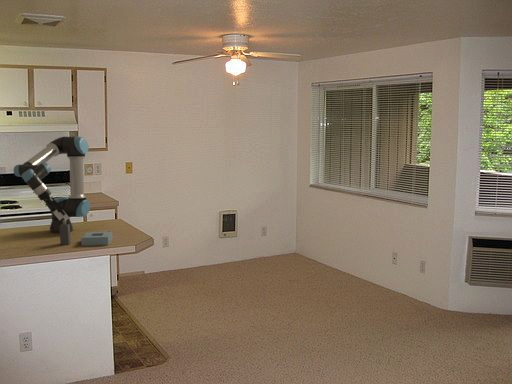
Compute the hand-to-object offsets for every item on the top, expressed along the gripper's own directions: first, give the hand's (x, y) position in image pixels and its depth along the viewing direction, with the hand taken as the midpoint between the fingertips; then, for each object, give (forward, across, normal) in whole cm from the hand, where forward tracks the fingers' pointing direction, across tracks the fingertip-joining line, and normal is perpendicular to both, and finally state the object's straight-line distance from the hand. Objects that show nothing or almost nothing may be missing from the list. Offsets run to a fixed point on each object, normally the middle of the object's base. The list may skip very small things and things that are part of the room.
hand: (64, 219), depth 358 cm
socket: (+23, +7, +5) cm, 25 cm away
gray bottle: (+13, -1, -9) cm, 15 cm away
